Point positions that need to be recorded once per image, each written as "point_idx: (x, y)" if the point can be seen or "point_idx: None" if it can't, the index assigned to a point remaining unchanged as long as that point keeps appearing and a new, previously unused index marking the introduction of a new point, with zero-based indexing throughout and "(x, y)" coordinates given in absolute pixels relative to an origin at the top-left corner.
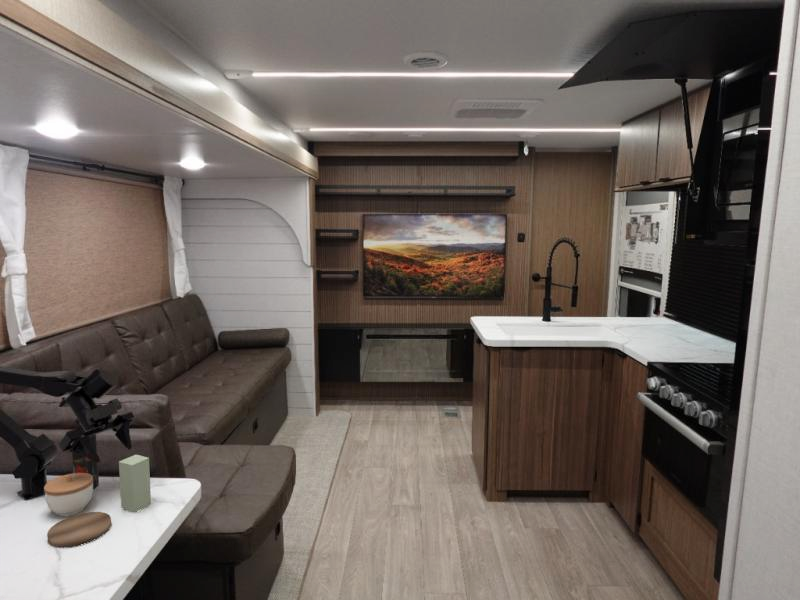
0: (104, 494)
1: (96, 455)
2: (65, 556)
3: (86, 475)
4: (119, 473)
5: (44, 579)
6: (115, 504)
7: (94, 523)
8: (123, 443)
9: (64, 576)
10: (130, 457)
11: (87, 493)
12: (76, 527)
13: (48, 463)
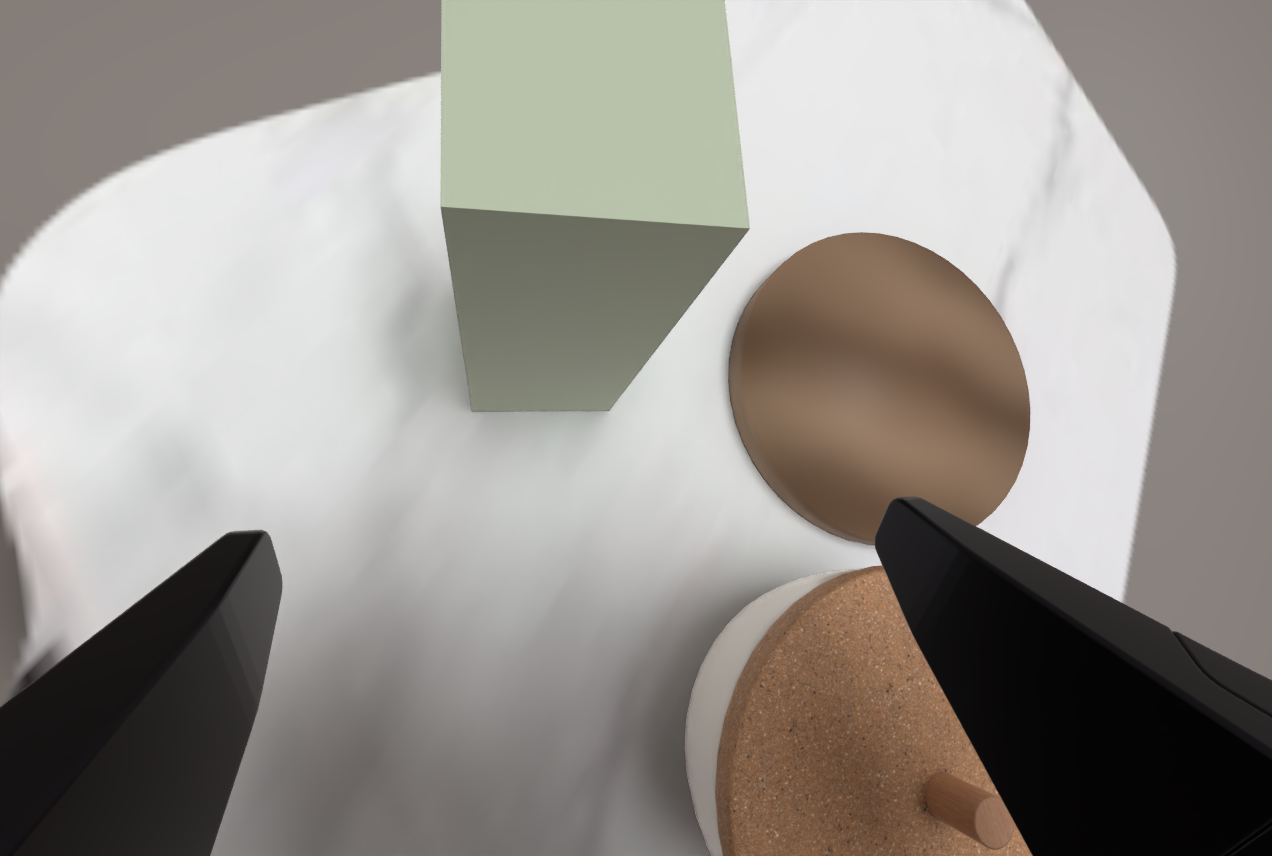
0: (531, 744)
1: (987, 549)
2: (991, 259)
3: (781, 785)
4: (691, 303)
5: (1085, 196)
6: (590, 504)
7: (838, 329)
8: (208, 830)
9: (1037, 145)
10: (568, 192)
11: (805, 578)
12: (911, 382)
13: None
